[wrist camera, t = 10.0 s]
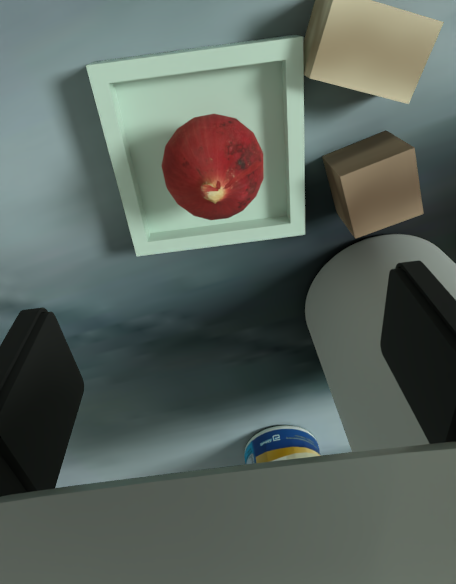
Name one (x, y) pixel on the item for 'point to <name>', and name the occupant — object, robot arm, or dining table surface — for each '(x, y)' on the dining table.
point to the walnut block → (374, 183)
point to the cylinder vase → (367, 336)
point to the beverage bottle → (281, 445)
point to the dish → (198, 102)
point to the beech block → (368, 47)
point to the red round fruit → (213, 166)
